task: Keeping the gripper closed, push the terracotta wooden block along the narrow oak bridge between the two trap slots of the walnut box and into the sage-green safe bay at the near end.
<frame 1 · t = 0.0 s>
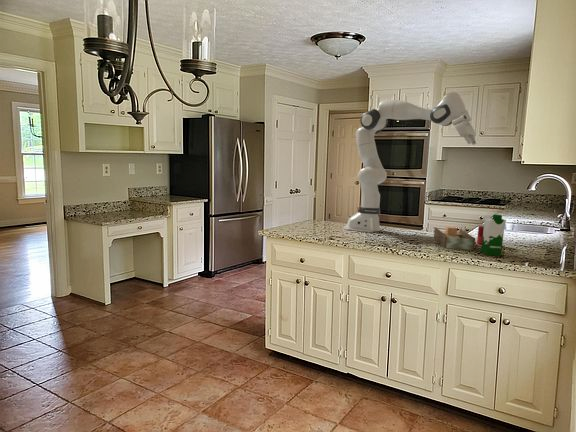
hand: (472, 143, 230), 54 cm above the countertop, tool tilted 30°, fingers open, 8 cm apart
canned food: (484, 244, 240), on the countertop
block: (451, 234, 244), point 4 cm above the countertop, touching trap box
trap box: (452, 243, 239), on the countertop
milk carton: (490, 254, 217), on the countertop
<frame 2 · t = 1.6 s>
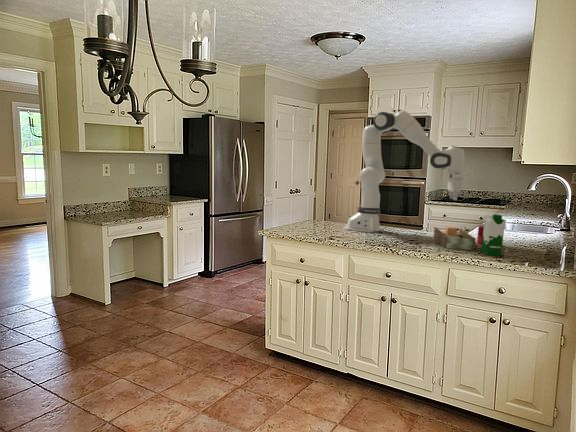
hand: (453, 199, 248), 23 cm above the countertop, tool pointing down, fingers open, 8 cm apart
nothing on the countertop moved.
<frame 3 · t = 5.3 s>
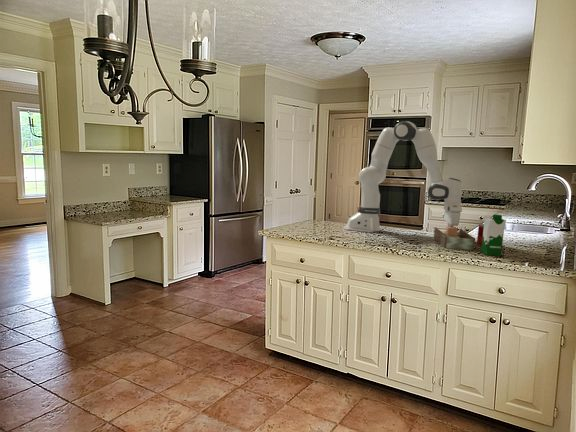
hand: (449, 230, 248), 5 cm above the countertop, tool pointing down, fingers closed
block: (451, 234, 244), point 4 cm above the countertop, touching gripper, trap box
everything else where it was.
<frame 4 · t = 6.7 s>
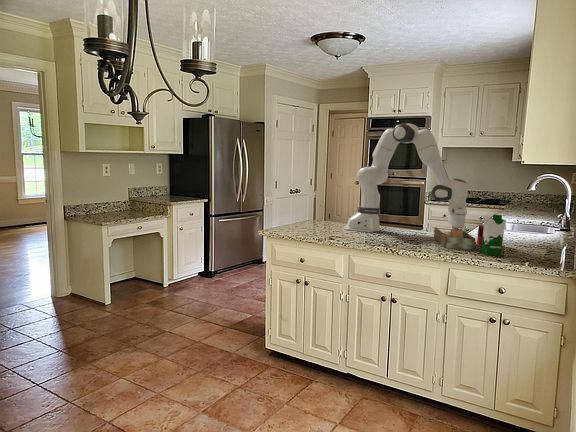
hand: (454, 233, 238), 5 cm above the countertop, tool pointing down, fingers closed
block: (455, 237, 234), point 4 cm above the countertop, touching gripper, trap box
everything else where it was.
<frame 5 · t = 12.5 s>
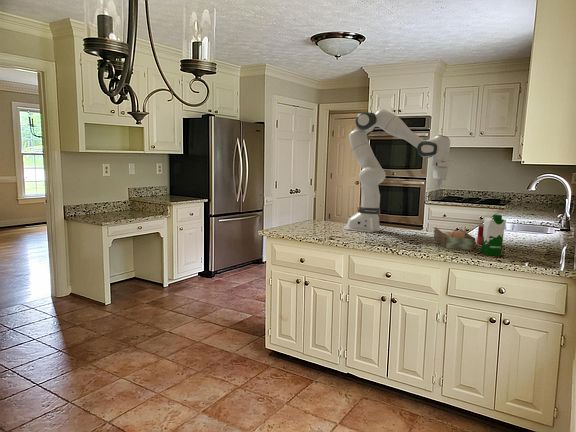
hand: (438, 187, 255), 29 cm above the countertop, tool pointing down, fingers closed
block: (457, 239, 230), point 4 cm above the countertop, touching trap box
everything else where it was.
at the end: block inside the target area on the trap box (0.8 cm from its centre), point 4.0 cm above the trap box's base; block tilted 0° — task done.
